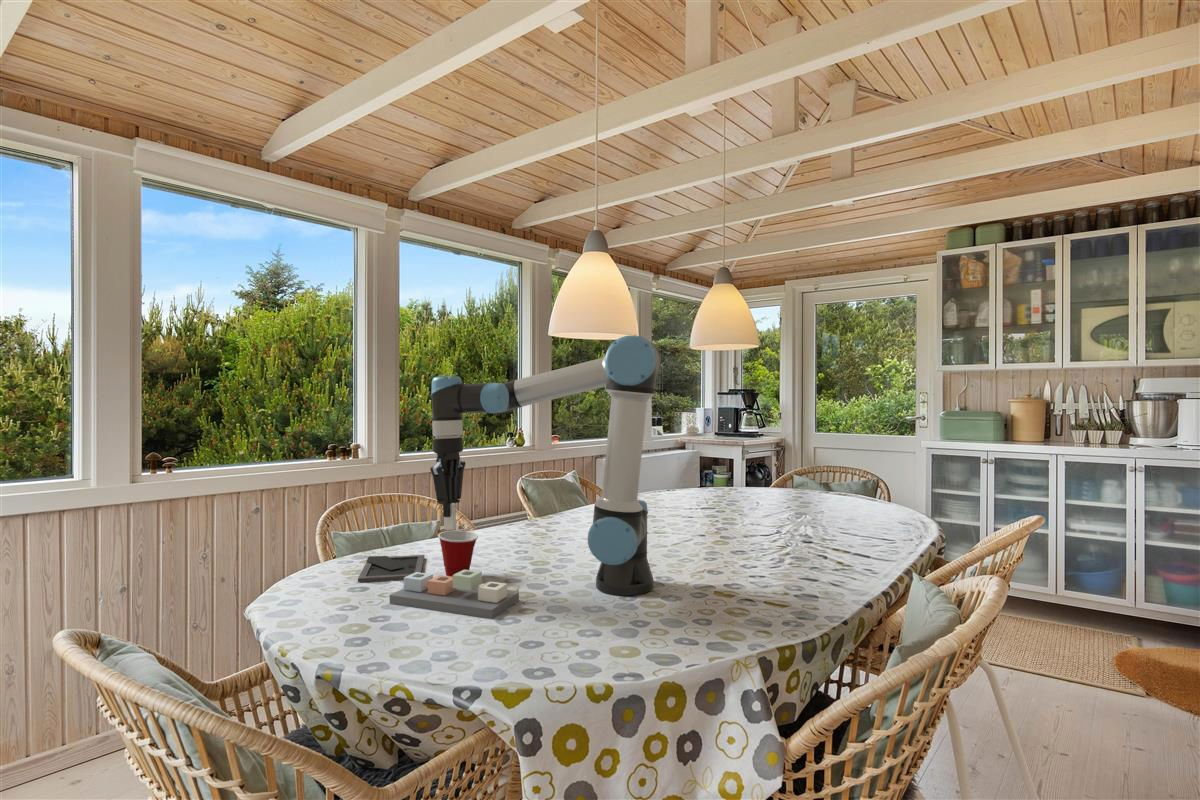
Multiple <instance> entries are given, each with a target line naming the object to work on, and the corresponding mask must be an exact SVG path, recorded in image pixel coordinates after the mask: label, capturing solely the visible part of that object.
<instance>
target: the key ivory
mask: <svg viewBox="0 0 1200 800" xmlns="http://www.w3.org/2000/svg"><path fill="white" fill-rule="evenodd" d="M482 584H483V585H482V586H480V587H478V600H480V601H487V602H494V603H497V602H499V601H501V600H502V599H504V598H505V597H507V587H508V583H504V582H498V581H487V582H485V583H482Z"/></svg>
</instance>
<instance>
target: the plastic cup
mask: <svg viewBox="0 0 1200 800" xmlns="http://www.w3.org/2000/svg"><path fill="white" fill-rule="evenodd" d="M437 536H438V539H439V543H440V547H441V552H442V553H441V554H442V560H443V566H444V570H445V576H451V577H453V575H454V574H456V573H458V572H460V571H462V570H470V569H471V565H472V560H473V554H474V549H475V548H474V547H475V545H476V542H477V539H479V535H478V533H475V532H473V531H467V530H446V531H443V532H439V533H438V534H437Z"/></svg>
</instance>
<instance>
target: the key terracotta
mask: <svg viewBox="0 0 1200 800" xmlns="http://www.w3.org/2000/svg"><path fill="white" fill-rule="evenodd" d="M455 590H457V588H453V577H451V576H446V575H441V574H439V575H437V576H435V578H433V579H430V580H428V593H430V594H437V595H445V596H446V595H447V594H449V593H451V592H453V591H455Z"/></svg>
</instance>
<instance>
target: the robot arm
mask: <svg viewBox="0 0 1200 800" xmlns="http://www.w3.org/2000/svg"><path fill="white" fill-rule="evenodd" d="M661 369H662V356H661V353H660V351H659V349H658V347H656V345H654V343H652V342H651V341H649V340H648V339H647V338H645V337H643V336H640V335H636V334H634V335H623V336H622V337H618V338H617V339H615V340H614V341H613V342H612V343H611V344H610V345H609V347H608V348H607V351H606V352H605V355H604V356H603V357H601V358H595V359H592V360H589V361H584V362H581V363H577V364H574V365H569V366H565V367H562V368H559V369H557V368H556V369H554V370H548V371H546V372H542V373H538V374H534V375H530V376H526V377H522V378H519V379H515V380H509V381H505V382H487V383H486V382H484V383H483V382H482V383H463V382H462V378H461V377H460V376H455V375H454V376H450V375H449V376H435V377H433V378H432V381H431V390H430V391H431V393H430V397H431V413H432V415H431V416H432V419H431V420H432V424H431V425H432V436H433V437H434V438H433V439H432V452H433V453H435V454H437V455H436V460H435V465H434V466H430V472H431V475H432V477H433V478H432V479H433V484H434V490H435V497H436V502H437V503H438V504H439V505H442V513H443V514H442V515H443V530H446V531H455V530H457V504H459V503H460V502H461V500H460V499H461V498H462V490H463V481H464V480H463V479H464V470H465V467H466V462H465V461H461V456H460V453H461V452H463V451H464V438H463V437H462V436H463V434H464V431H463V430H464V429H463V427H464V426H463V414H498V413H499V414H500V413H504V412H505V413H506V412H511V411H513V410H515V409H519V408H522V407H526V406H530V405H534V404H539V403H543V402H548V401H551V400H555V399H560V398H564V397H568V396H572V395H576V394H580V393H585V392H589V391H592V390H597V389H601V388H605V391H606V392H607V394H608V395H609V396H610V398H611V399H610V407H609V409H610V410H609V418H608V419H609V420H608V427H607V428H608V429H607V440H606V450H605V460H604V468H603V469H604V471H603V479H602V480H603V481H602V489H601V490H602V492H601V496H600V497H599V499H597V500H596V501H595V502H594V509H593V516H592V524H591V525H590V528H589V530H588V533H587V546H588V549H589V550H590V552H591V554H592V556H594V558H595V559H596V560H598V561H599V562H600V565H599V568H598V570H597V573H596V577H595V587H596V589H597V590H598V591H600V592H602V593H604V594H609V595H614V596H615V595H616V596H637V595H638V594H639V595H644V594H646V592H647V593H649V592H651V591H652V590H653V589H654V577H653V573H652V570H651V569H652V568H651V567H650V563H649V561H648V514H649V510H648V504H647V502H646V501H645V500H642V499H638V497H639V487H640V486H639V485H640V478H641V477H640V476H641V465H642V455H643V445H644V434H645V426H646V425H645V424H646V414H647V408H648V407H647V406H648V405H647V403H648V401H649V400H650V399H652V398H653V397H654V396H655V389H656V379H657V377H658V375H659V373H660V371H661ZM650 590H651V591H650ZM648 591H649V592H648ZM643 593H644V594H643Z"/></svg>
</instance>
